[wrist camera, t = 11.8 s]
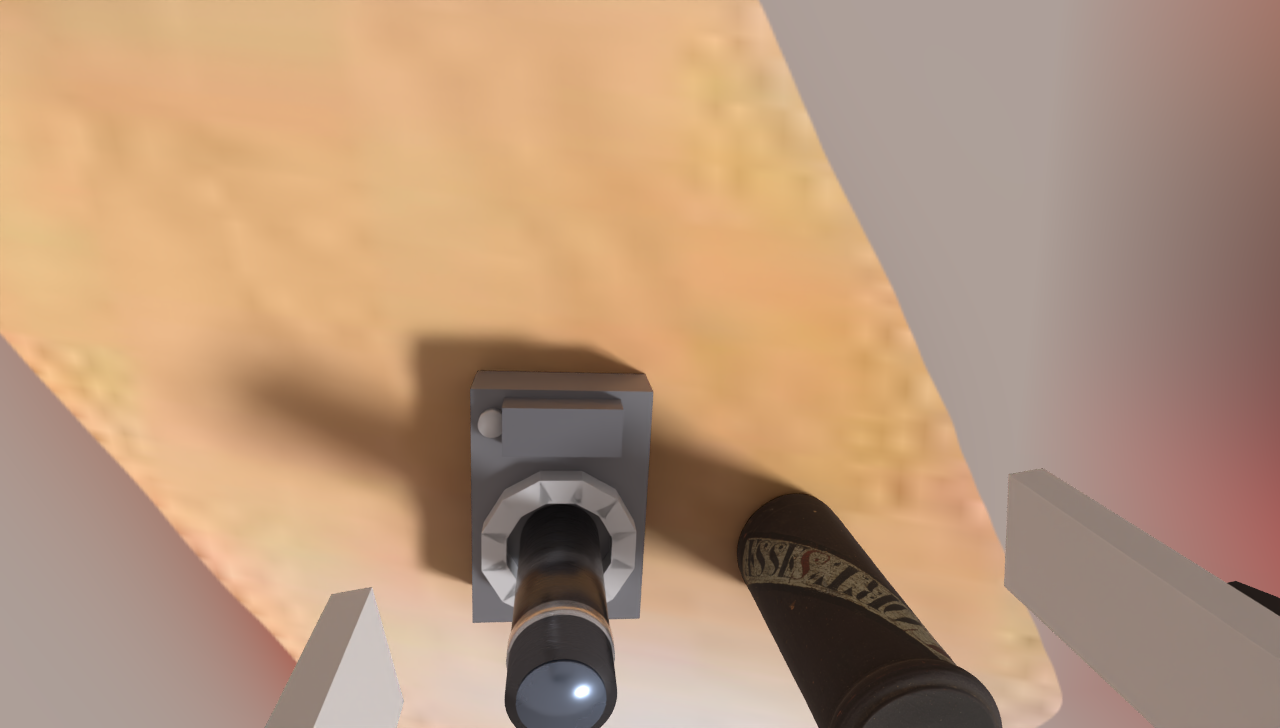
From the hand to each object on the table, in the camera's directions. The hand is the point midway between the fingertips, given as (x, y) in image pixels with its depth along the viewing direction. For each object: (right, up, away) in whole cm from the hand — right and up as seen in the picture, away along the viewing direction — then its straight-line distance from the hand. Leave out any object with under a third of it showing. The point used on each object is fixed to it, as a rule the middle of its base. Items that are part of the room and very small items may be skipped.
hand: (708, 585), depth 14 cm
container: (+10, -9, +37) cm, 39 cm away
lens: (-7, -7, +30) cm, 32 cm away
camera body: (-7, -4, +33) cm, 34 cm away
